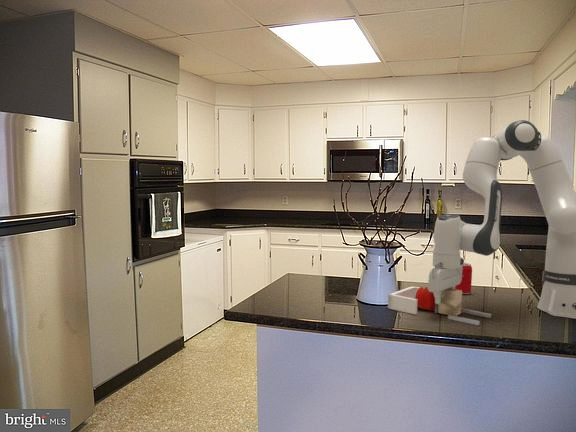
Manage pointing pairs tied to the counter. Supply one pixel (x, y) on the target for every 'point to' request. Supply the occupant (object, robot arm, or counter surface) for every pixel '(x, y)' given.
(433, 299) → the tomato
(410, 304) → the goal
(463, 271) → the beverage can
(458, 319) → the track
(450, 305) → the beige block
